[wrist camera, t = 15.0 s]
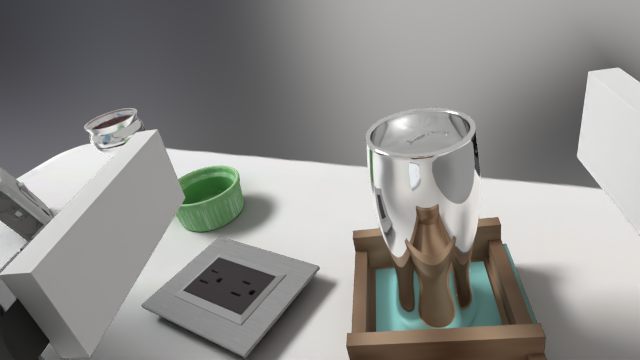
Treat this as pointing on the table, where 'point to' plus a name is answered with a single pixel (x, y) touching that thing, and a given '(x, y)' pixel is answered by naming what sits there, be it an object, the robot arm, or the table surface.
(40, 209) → the electrical switch
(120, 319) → the table surface
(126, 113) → the wineglass
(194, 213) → the ramekin
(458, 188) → the chrome pint tumbler
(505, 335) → the caddy
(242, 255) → the electrical outlet
